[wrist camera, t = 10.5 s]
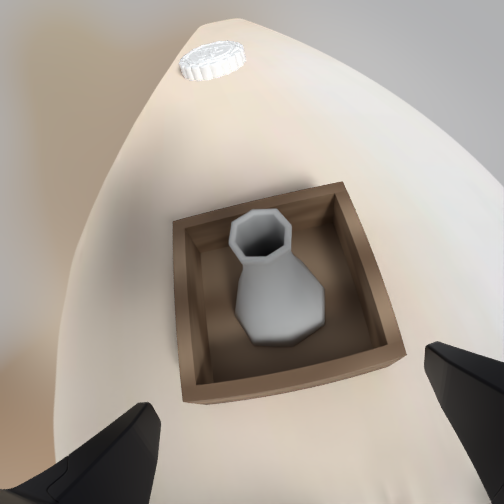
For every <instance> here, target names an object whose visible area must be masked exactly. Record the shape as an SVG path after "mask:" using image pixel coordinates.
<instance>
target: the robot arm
mask: <svg viewBox="0 0 504 504" xmlns="http://www.w3.org/2000/svg"><path fill="white" fill-rule="evenodd" d="M424 369H425V372H426V375H427V377H428V379H429V381H430V383H431V385H432V388H433V390H434V392H435V394H436V397H437V399H438V401H439V403H440V406H441V408H442V409H443V411H444V413H445V415H446V416H447V418H448V420H449V422H450V423H451V425H452V427H453V429H454V430H455V432H456V434H457V436H458V438H459V439H460V441H461V443H462V445H463V447H464V449H465V450H466V452H467V454H468V456H469V458H470V460H471V462H472V464H473V465H474V467H475V469H476V471H477V473H478V475H479V477H480V479H481V481H482V483H483V485H484V487H485V489H486V492H487V494H488V496H489V498H490V500H491V503H492V504H504V362H501V361H498V360H494V359H491V358H488V357H485V356H482V355H478V354H475V353H472V352H469V351H466V350H463V349H460V348H457V347H454V346H451V345H448V344H444V343H441V342H438V341H436V342H433V343H431V344H428V345H427V346H426V348H425V360H424ZM160 430H161V421H160V419H159V417H158V415H157V413H156V412H155V410H154V408H153V406H152V405H151V404H150V403H149V402H140V403H137V404H136V405H135V406H133V407H132V408H131V409H129V410H128V411H127V412H126V413H124V414H123V415H122V416H120V417H119V418H118V419H116V420H115V421H114V422H112V423H111V424H110V425H109V426H107V427H106V428H105V429H103V430H102V431H101V432H99V433H98V434H97V435H95V436H94V437H93V438H91V439H90V440H88V441H87V442H86V443H84V444H83V445H82V446H80V447H79V448H78V449H76V450H75V451H73V452H72V453H71V454H69V456H66V457H65V458H64V459H62V460H61V461H59V462H58V463H56V464H55V465H53V466H52V467H50V468H49V469H47V470H45V471H44V472H42V473H40V474H39V475H37V476H35V477H33V478H32V479H30V480H28V481H26V482H24V483H22V484H21V485H19V486H17V487H14V488H11V489H3V490H2V489H0V504H149V500H150V495H151V490H152V485H153V480H154V475H155V471H156V466H157V460H158V450H159V440H160Z"/></svg>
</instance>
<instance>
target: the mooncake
mask: <svg viewBox="0 0 504 504" xmlns="http://www.w3.org/2000/svg"><path fill="white" fill-rule="evenodd" d="M244 62H246V56H245V52H244V47H243V45H242V44H240V43H239V42H234V41H218V42H214V43H211V44H206V45H201V46H200V47H198V48H195V49H193V50H192V51H190V52H189V53H188V54H186V55H184V56H183V58H181V59H180V62H179V66H180V69H181V72H182V74H183V76H184V78H185V79H188V80H189V81H193V80H195V81H202V80H210V79H212V78H219V77H221V76H223V75H228V74H230V73H231V72H232V71H236V70H238V69H239V67H241V66H243V65H244Z"/></svg>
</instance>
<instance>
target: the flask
mask: <svg viewBox="0 0 504 504" xmlns="http://www.w3.org/2000/svg"><path fill="white" fill-rule="evenodd" d="M291 237H292V226H291V224H290V223H289V222H288V220H287V219H286V218H285V217H284V216H283V215H282V214H281V213H280V212H279V210H278V209H252V210H251V211H249V212H247V213H246V214H244V215H242V216H241V217H239V218H237V219H236V220H234V221H232V223H231V229H230V236H229V243H228V244H229V246H230V247H231V249H232V250H233V252H234V253H235V255H236V256H237V257H238V259H239V260H240V262H241V263H242V264H243V271H242V273H241V276H240V278H239V282H238V291H237V299H236V308H235V317H236V319H237V320H238V322H239V323H240V325H241V327H242V328H243V330H244V331H245V333H246V334H247V336H248V337H249V339H250V340H251V342H252V344H253V345H254V346H277V347H293V346H295V345H296V344H298V343H299V342H301V341H302V340H304V339H305V338H306V337H308V336H309V335H311V334H312V333H314V332H315V331H317V330H318V329H319V328H321V327H322V326H324V325H325V289H324V287H323V286H322V285H321V284H320V282H319V281H318V280H317V279H316V278H315V276H314V275H313V274H312V273H311V271H310V270H309V269H308V268H307V267H306V265H305V264H304V263H303V262H302V261H301V260H300V259H298V258H297V257H296V256H294V255H293V254H292V252H291Z"/></svg>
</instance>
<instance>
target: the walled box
mask: <svg viewBox="0 0 504 504" xmlns="http://www.w3.org/2000/svg"><path fill="white" fill-rule="evenodd" d="M252 209H278V210H279V212H280V213H281V214H282V215H283V216H284V217H285V218H286V219H287V220H288V222H289V223H290V224H291V226H292V237H291V252H292V254H293V255H294V256H296V257H297V258H298V259H300V260H301V261H302V262H303V263H304V264H305V265H306V267H307V268H308V269H309V270H310V271H311V273H312V274H313V275H314V276H315V278H316V279H317V280H318V281H319V282H320V284H321V285H322V286H323V287H324V289H325V325H324V326H322V327H321V328H319V329H318V330H317V331H315V332H314V333H312V334H311V335H309V336H308V337H306V338H305V339H304V340H302V341H301V342H299V343H298V344H296V345H295V346H293V347H277V346H254V345H253V344H252V342H251V340H250V339H249V337H248V336H247V334H246V333H245V331H244V330H243V328H242V327H241V325H240V323H239V322H238V320H237V319H236V317H235V308H236V299H237V291H238V282H239V278H240V276H241V273H242V271H243V264H242V263H241V262H240V260H239V259H238V257H237V256H236V255H235V253H234V252H233V250H232V249H231V247H230V246H229V244H228V243H229V236H230V229H231V223H232V221H234V220H236V219H237V218H239V217H241V216H242V215H244V214H246V213H247V212H249V211H251V210H252ZM173 269H174V296H175V315H176V331H177V345H178V357H179V368H180V379H181V388H182V398H183V402H187V403H195V404H204V405H208V404H217V403H226V402H233V401H240V400H247V399H254V398H260V397H266V396H271V395H277V394H282V393H287V392H292V391H297V390H302V389H306V388H311V387H315V386H320V385H324V384H328V383H332V382H336V381H340V380H344V379H347V378H351V377H355V376H358V375H362V374H365V373H368V372H372V371H375V370H378V369H382V368H385V367H388V366H390V365H392V364H393V363H395V362H396V361H398V360H400V359H401V358H403V357H404V356H406V355H407V354H406V351H405V347H404V344H403V340H402V337H401V334H400V330H399V327H398V324H397V321H396V317H395V314H394V311H393V308H392V305H391V302H390V299H389V296H388V293H387V290H386V287H385V284H384V282H383V279H382V276H381V273H380V270H379V268H378V265H377V262H376V260H375V257H374V254H373V252H372V249H371V247H370V244H369V242H368V239H367V237H366V234H365V232H364V229H363V227H362V224H361V222H360V220H359V217H358V215H357V213H356V210H355V208H354V206H353V203H352V201H351V199H350V197H349V194H348V192H347V190H346V188H345V186H344V183H343V181H342V182H337V183H332V184H328V185H323V186H318V187H313V188H308V189H304V190H299V191H295V192H290V193H286V194H281V195H277V196H272V197H268V198H264V199H259V200H255V201H251V202H247V203H243V204H238V205H234V206H230V207H226V208H222V209H218V210H214V211H210V212H207V213H203V214H199V215H195V216H191V217H187V218H184V219H180V220H176V221H173Z"/></svg>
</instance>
